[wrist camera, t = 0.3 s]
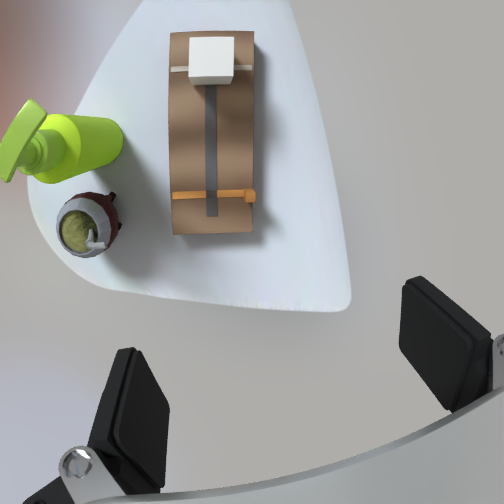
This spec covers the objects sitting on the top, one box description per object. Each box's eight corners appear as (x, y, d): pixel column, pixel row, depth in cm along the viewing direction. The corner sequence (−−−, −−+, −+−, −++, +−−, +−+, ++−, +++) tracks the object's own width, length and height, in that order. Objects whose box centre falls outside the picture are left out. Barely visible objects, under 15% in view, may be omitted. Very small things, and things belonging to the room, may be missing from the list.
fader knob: (192, 50, 28) (189, 37, 23) (230, 49, 28) (234, 36, 24) (191, 85, 29) (188, 77, 25) (230, 84, 30) (233, 76, 25)
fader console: (173, 40, 30) (167, 25, 25) (250, 38, 31) (257, 24, 26) (175, 227, 38) (170, 242, 33) (249, 224, 39) (255, 239, 34)
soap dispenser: (138, 129, 33) (64, 130, 15) (103, 175, 35) (13, 220, 16) (104, 101, 31) (9, 82, 13) (71, 147, 33) (-35, 170, 14)
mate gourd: (68, 218, 36) (7, 264, 22) (98, 168, 34) (38, 191, 20) (112, 251, 38) (69, 313, 24) (145, 203, 37) (108, 246, 23)
